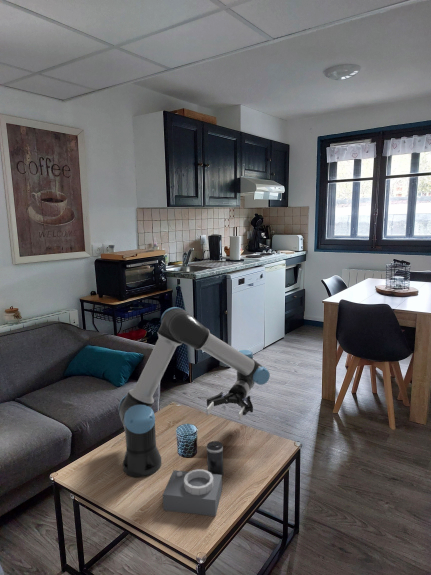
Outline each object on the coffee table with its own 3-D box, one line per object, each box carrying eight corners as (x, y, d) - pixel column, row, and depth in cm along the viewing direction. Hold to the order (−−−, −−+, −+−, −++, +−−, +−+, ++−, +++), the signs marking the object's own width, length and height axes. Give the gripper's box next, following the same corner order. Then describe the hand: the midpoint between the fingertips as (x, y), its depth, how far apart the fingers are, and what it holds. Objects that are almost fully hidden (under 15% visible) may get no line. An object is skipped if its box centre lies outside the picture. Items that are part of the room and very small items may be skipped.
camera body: (163, 510, 134) (162, 487, 132) (174, 484, 146) (173, 464, 145) (215, 516, 130) (215, 493, 129) (222, 489, 143) (221, 468, 141)
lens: (206, 478, 150) (205, 449, 147) (209, 468, 155) (208, 440, 153) (222, 479, 148) (221, 450, 146) (224, 469, 154) (224, 441, 152)
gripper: (266, 403, 173) (253, 428, 154) (213, 396, 182) (194, 418, 162) (266, 387, 172) (253, 410, 152) (212, 380, 181) (194, 401, 161)
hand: (223, 414), depth 157 cm, fingers open, 13 cm apart
